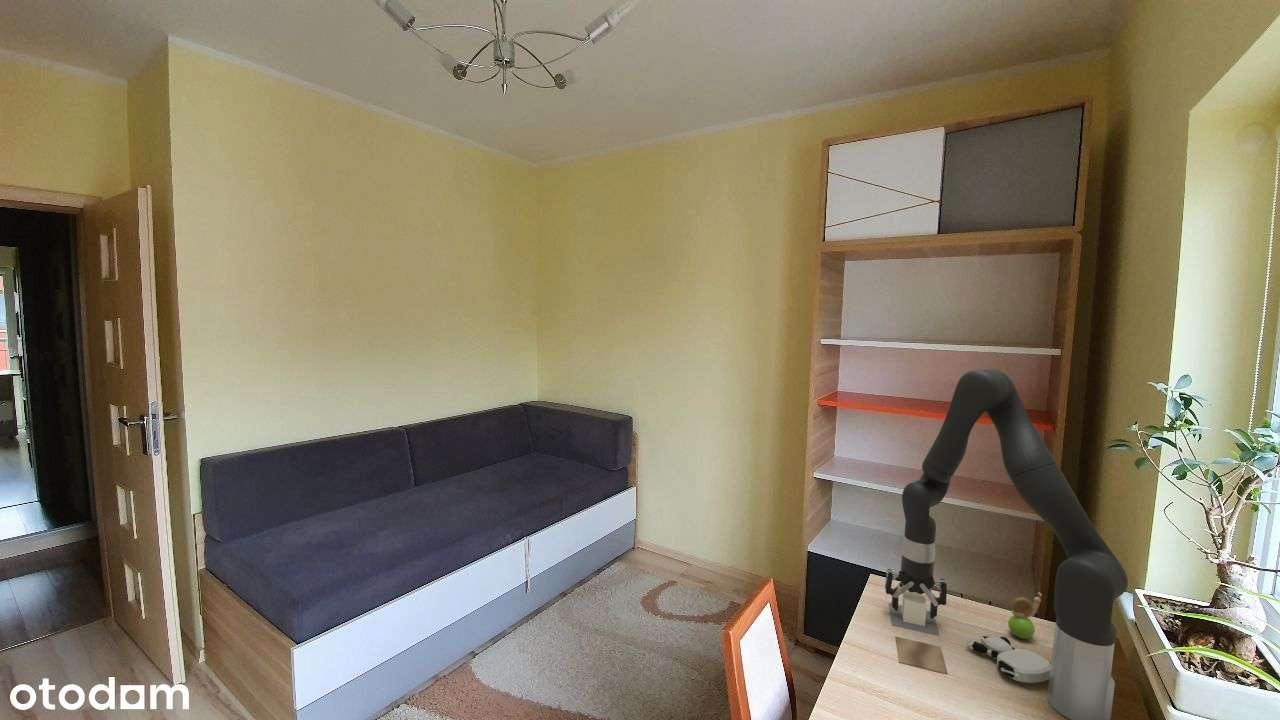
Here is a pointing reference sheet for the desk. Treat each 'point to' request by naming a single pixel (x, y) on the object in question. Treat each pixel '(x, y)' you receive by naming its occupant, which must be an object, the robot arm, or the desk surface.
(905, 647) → the walnut board
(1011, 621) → the snail figurine
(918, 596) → the white block
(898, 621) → the mat
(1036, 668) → the robot toy
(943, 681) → the desk surface
